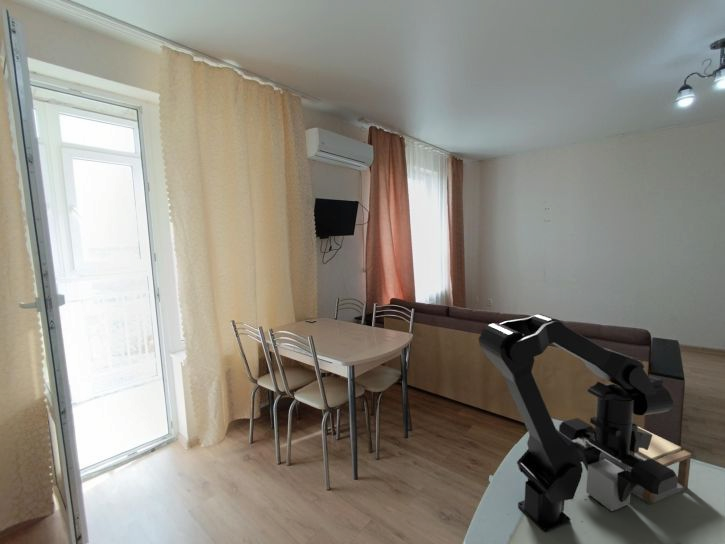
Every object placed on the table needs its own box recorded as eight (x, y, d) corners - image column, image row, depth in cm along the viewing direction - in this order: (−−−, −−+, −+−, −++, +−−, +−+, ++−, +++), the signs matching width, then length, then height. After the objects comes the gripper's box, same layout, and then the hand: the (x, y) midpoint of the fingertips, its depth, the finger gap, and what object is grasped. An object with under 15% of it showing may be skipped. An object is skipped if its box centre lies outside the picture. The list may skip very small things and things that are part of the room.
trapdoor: (637, 488, 65) (639, 462, 65) (596, 462, 73) (598, 438, 72) (678, 472, 70) (681, 447, 69) (636, 449, 77) (638, 426, 77)
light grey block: (611, 511, 63) (614, 482, 62) (586, 492, 67) (588, 464, 67) (629, 503, 64) (632, 475, 64) (603, 485, 69) (605, 458, 68)
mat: (649, 504, 65) (649, 501, 65) (592, 466, 75) (593, 464, 75) (687, 487, 69) (687, 485, 68) (628, 454, 79) (629, 452, 79)
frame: (649, 504, 65) (653, 465, 64) (592, 466, 75) (595, 433, 74) (687, 487, 69) (691, 451, 68) (628, 454, 79) (631, 422, 78)
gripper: (701, 434, 58) (692, 516, 60) (595, 388, 75) (590, 452, 77) (660, 449, 54) (652, 535, 56) (558, 397, 72) (554, 464, 73)
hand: (607, 490), depth 66 cm, fingers closed on light grey block, 5 cm apart
